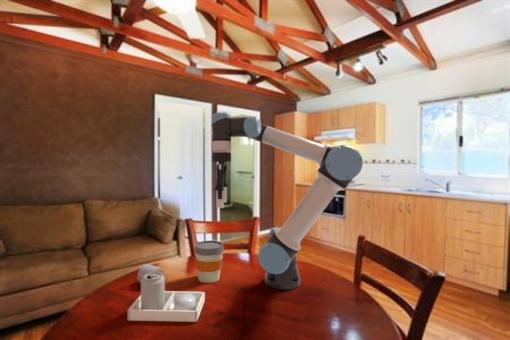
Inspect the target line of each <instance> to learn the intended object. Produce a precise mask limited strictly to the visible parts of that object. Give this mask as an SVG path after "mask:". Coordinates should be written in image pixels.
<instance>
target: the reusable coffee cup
mask: <svg viewBox="0 0 510 340" xmlns="http://www.w3.org/2000/svg"><path fill="white" fill-rule="evenodd" d="M224 248H225V247H224V243H223V242H222V241H219V240H202V241H199V242H197V243H196V244H195V245H194V253H195V258H194V259H195V267H196V270H197V276H198V281H199V282H200V283H205V284H212V283H215V282H217V281H219V280H220V275H221V270H222V267H223V262H224V260H223V259H224V256H223V254H224V251H225V250H224Z"/></svg>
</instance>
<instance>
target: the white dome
mask: <svg viewBox="0 0 510 340" xmlns="http://www.w3.org/2000/svg"><path fill="white" fill-rule="evenodd" d="M174 310H188V311H195V296H194V295H193V294H180V295H178V296H176V297H175V298H174Z"/></svg>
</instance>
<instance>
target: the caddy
mask: <svg viewBox="0 0 510 340" xmlns="http://www.w3.org/2000/svg"><path fill="white" fill-rule="evenodd" d="M180 294H193V295H194V296H195V311H188V310H174V298H175V297H176V296H178V295H180ZM205 294H206V292H205V291H175V290H173V291H172V290H171V291H170V290H168V291H167V290H165V305H164V307H163V309H162V310H141V294H140V295H139V296H138V298H136V300H135V301H134V302H133V303H132V304H131V305H130V307H128V309H127V313H126V314H127V315H126V316H127V321H134V322H137V321H138V322H141V321H142V322H144V321H145V322H183V323H185V322H188V323H190V322H192V323H197V322H198V321H199V320H198V319H199V317H200V314H201V311H202V309H203V307H204V303H205V301H206V295H205Z"/></svg>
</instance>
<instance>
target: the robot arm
mask: <svg viewBox="0 0 510 340" xmlns="http://www.w3.org/2000/svg"><path fill="white" fill-rule="evenodd" d="M211 118H212V119H211V132H212V133H211V136H212V137H211V139H212V140H211V142H212V143H210V146H211V147H212V148H211V149H212V154H211V158H212V160H211V161H212V162H213V163H217V164H216V167H215V170H216V178H215V179H216V182H215V188H214V191H216V209H217V208H218V209H220V208H221V209H224V208H225V203H227V201H228V200H227V199H228V198H227V195H228V194H227V189H228V187H229V183H228V182H227V175H228V174H227V171H228V166H227V164H226V163H230V162H231V161H232V153H231V152H232V138H237V137H238V138H239V137H240V138H242V137H243V138H248V139H250V140H254V141H256V142H260V143H262V144H265V145H269V146H271V147H273V148H276V149H279V150H282V151H285V152H286V153H289V154H293V155H294V156H295V155H296V156H298V157H300V158H304V159H306V160H308V161H311V162H312V163H313V162H314V163H317V164H318V166H319V167H318V169H317V171H316V172H317V178H316V179H315V180H314V181H313V183H312V185H311V186H310V187H309V188H308V190H307V192H306V193H305V194H304V196H303V197H302V198H301V200H300V201H299V203H298V204H297V206H296V207H295V208H294V210H293V211H292V212H291V214H290V215H289V216H288V218H287V219H286V221H285V222H284V224H282V226H281V227H273V228H270V230H269V237H268V238H267V240H266V241H265V243H264V244H263V245H262V246H261V247H260V248H259V251H258V256H257V258H258V261H259V264H260V266H261V267H262V269H263V270H264V271H266V272H265V274H264V283H265V284H266V285H267V286H269V287H270V288H272V289H276V290H283V291H285V290H286V291H287V290H293V289H297V288H298V287H299V286H300V285H301V276H300V272H299V268H298V265H297V260H298V258H297V257H298V253H299V251H300V250H301V242H302V240H303V239H304V238H305V236H306V235H307V234H308V232H309V231H310V230H311V229H312V227H313V226H314V224H315V223H316V222H317V221H318V219H319V218H320V216H321V214H322V213H323V212H324V210H325V209H326V208H327V207H328V206H329V204H330V203H331V201H332V200H333V199H334V197H335V196H336V194H337V193H338V192H339V191H345V190H346V188H348V186H349V185H350V183H351V182H353V179H354V178H356V177H357V176H358V175H359V174H360V173H361V171H362V168H363V164H364V163H363V162H364V161H363V156H362V154H361V153H360V151H359V150H358V149H356V148H355V147H354V146H351V145H348V144H339V145H337V146H336V145H331V144H328V143H327V144H325V145H324V144H321V143H319V142H315V141H313V140H310V139H306V138H304V137H301V136H299V135H295V134H292V133H289V132H286V131H283V130H281V129H278V128H275V127H272V126H269V125H266V124H264V123H261V122H262V121H261V119H260V118H259V117H258V116H251V115H250V116H245V117H244V116H243V117H241V116H240V117H232V115H231V114H230V113H229V112H219V111H218V112H214V113H213V114H212V117H211Z"/></svg>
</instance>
